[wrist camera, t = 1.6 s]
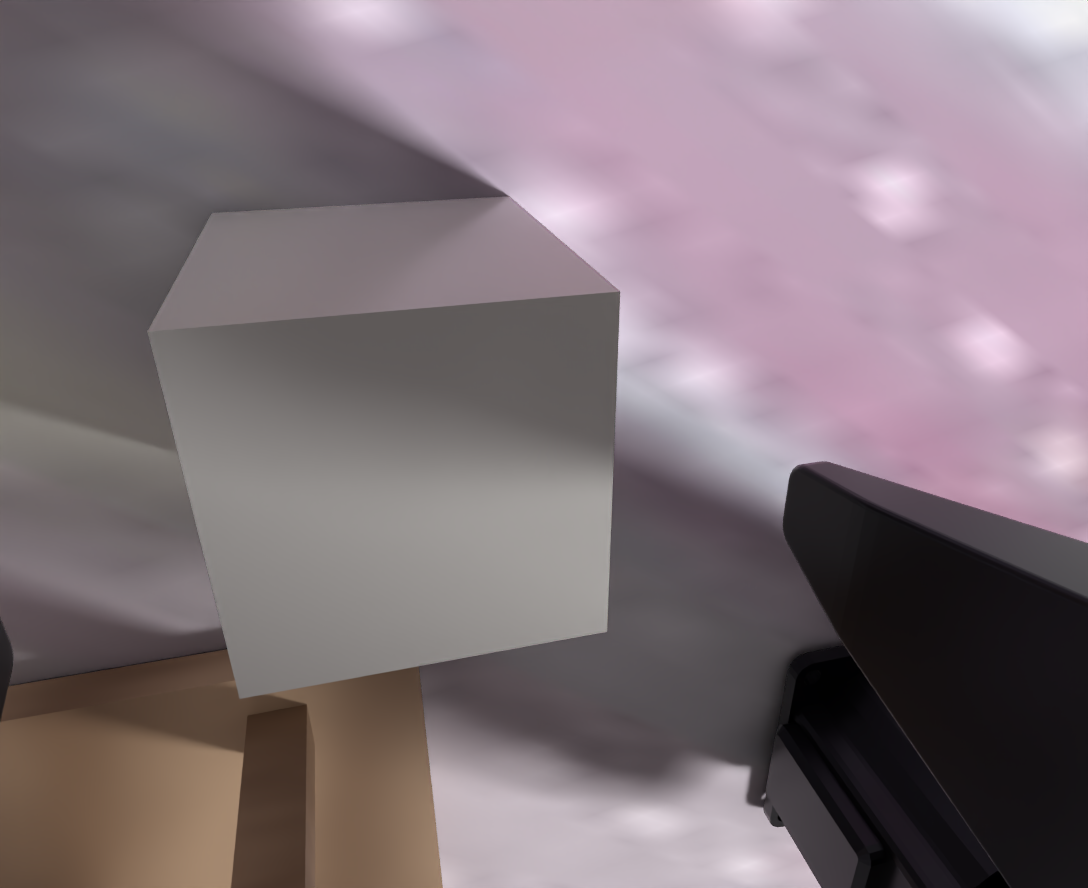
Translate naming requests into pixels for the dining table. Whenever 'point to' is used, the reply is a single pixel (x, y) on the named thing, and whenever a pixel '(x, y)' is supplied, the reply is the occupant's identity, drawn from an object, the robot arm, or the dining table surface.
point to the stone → (392, 434)
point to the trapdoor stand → (215, 782)
